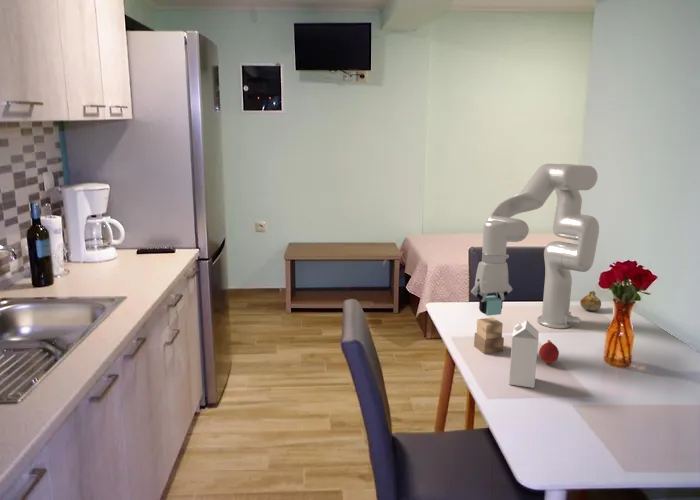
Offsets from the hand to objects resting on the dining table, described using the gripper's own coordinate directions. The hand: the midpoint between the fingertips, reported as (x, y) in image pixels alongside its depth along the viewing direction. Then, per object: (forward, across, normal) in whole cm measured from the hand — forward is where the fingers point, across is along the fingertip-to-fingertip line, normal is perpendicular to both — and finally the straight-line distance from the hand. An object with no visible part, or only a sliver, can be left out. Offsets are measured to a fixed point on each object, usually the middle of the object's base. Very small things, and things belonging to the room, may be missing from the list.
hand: (490, 311), depth 187 cm
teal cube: (+1, 0, 0) cm, 1 cm away
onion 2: (+13, -59, -25) cm, 66 cm away
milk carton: (+14, +2, +24) cm, 28 cm away
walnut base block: (+14, 0, 0) cm, 14 cm away
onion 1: (+14, -13, +16) cm, 24 cm away
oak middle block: (+9, 0, 0) cm, 9 cm away
